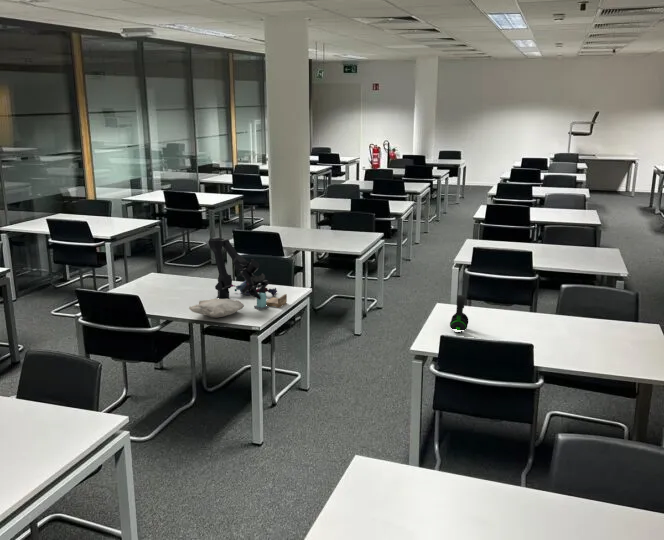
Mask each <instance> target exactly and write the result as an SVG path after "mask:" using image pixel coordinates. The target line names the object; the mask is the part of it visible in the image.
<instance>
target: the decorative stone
mask: <svg viewBox="0 0 664 540" xmlns="http://www.w3.org/2000/svg"><path fill="white" fill-rule="evenodd" d="M244 307H245V305H244V303H242V302H241V301H240V300H238V299H236V300H235V299H231V298H230V299H218V298H210V299H204V300H199V301H198V304H195V305H192V306H189V308H188V309H189V310H190V311H191V312H192V313H195V314H200V315H205V316H208V317H210V318H213V319H214V318H215V319H217V318H223V317H227V316H230V315H232V314H235V313H236V312H237V311H240V310H242V309H244Z"/></svg>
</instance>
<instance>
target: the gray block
mask: <svg viewBox="0 0 664 540" xmlns="http://www.w3.org/2000/svg"><path fill="white" fill-rule="evenodd" d="M253 307H255V308H254V309H256V308H257V309H256V310H258V309H259V310H258V311H263V310H262V309H265V310H268V309H267V308H269V307H270V306H265V307H262V308H261V307H257V304H256V305H254V306H253ZM269 309H270V308H269Z"/></svg>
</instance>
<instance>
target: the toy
mask: <svg viewBox="0 0 664 540" xmlns="http://www.w3.org/2000/svg"><path fill="white" fill-rule="evenodd" d="M245 282H246V280H244V281H243V282H241V283H240V284H239V285H234V284H233V283H232V284H231V288H232V287H235V288H234V292H237V291H240V293H241V294H242V295H244V296H247V295H248V296H249V295H250V294H248V293H249V291H248V293H247V294H243V292H242V290H243V289H244V287H245V286H247V285H248V283H247V284H246V283H245ZM258 290H259V288H256V291H257V293H260V292H259V291H258ZM265 292H266V293H270V294H271V296H272V297H275V296H276V294H277V293H276V292H278V290H277V288H276V287H274V288H269V287H268V288H267V287H265ZM274 295H275V296H274Z"/></svg>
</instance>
